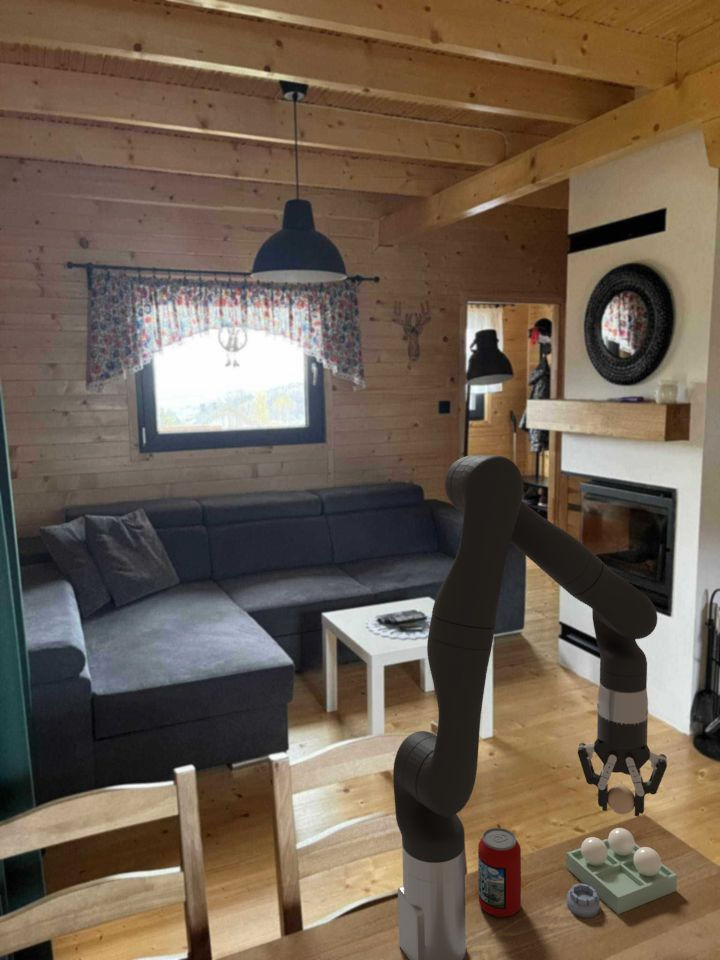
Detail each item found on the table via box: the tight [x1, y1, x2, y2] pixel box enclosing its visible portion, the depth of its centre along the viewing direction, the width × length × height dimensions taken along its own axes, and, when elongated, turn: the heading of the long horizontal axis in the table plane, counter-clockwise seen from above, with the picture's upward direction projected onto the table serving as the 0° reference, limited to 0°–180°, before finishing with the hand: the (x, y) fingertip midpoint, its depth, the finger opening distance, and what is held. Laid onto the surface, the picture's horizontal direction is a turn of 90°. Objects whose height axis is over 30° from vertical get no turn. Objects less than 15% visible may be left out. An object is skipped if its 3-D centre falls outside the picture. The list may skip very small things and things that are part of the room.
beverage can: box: [477, 827, 522, 918], centre depth 119 cm, size 7×7×12 cm
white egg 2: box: [607, 827, 636, 856], centre depth 129 cm, size 4×4×4 cm
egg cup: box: [566, 882, 601, 919], centre depth 119 cm, size 5×5×3 cm
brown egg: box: [607, 784, 635, 815], centre depth 119 cm, size 4×4×4 cm
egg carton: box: [565, 838, 678, 915], centre depth 125 cm, size 12×12×3 cm
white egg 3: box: [633, 846, 663, 877], centre depth 123 cm, size 4×4×4 cm
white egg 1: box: [580, 836, 608, 866], centre depth 126 cm, size 4×4×4 cm
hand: (620, 810), depth 119 cm, fingers closed on brown egg, 4 cm apart
